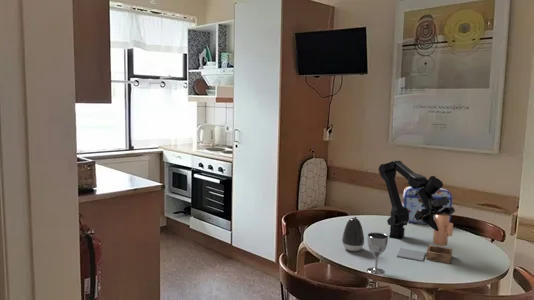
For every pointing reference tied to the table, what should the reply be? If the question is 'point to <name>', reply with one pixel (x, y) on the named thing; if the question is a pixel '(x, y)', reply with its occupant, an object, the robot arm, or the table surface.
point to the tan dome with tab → (442, 229)
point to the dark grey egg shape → (353, 235)
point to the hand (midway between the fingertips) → (443, 230)
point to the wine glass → (377, 249)
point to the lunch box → (415, 202)
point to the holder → (439, 254)
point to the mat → (411, 254)
